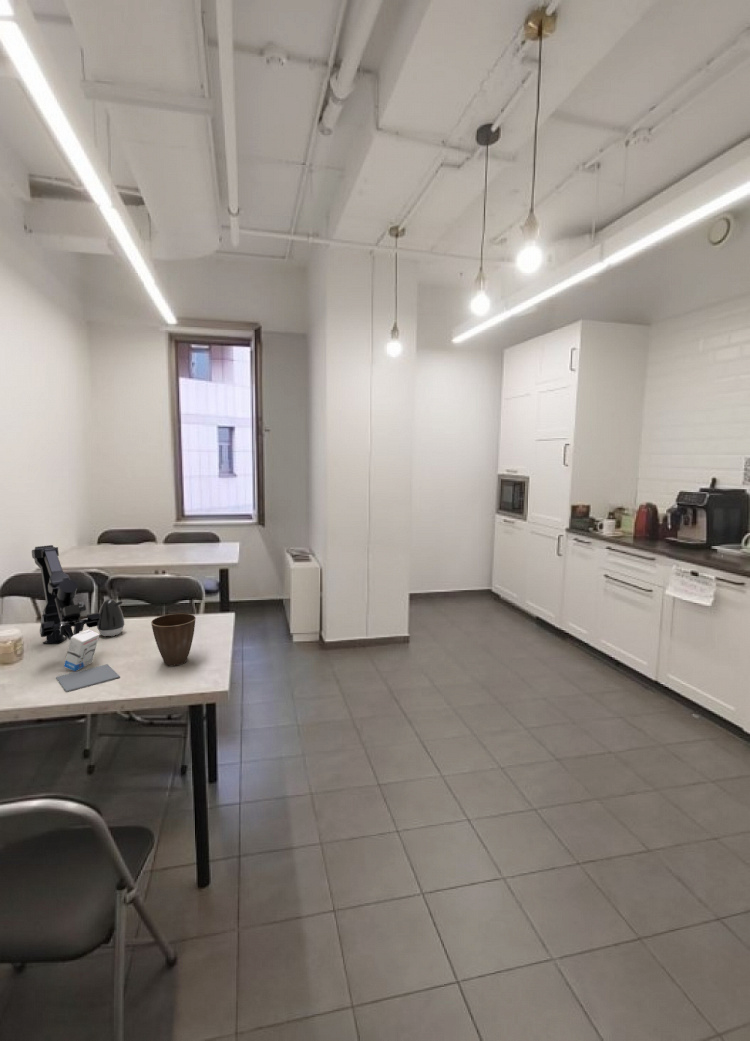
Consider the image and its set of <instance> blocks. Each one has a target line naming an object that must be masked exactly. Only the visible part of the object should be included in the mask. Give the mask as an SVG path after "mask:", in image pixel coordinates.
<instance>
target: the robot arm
mask: <svg viewBox="0 0 750 1041" xmlns="http://www.w3.org/2000/svg"><path fill="white" fill-rule="evenodd" d="M59 556H60V553H59V547H58V546H57V547H55V546H54V545H53V544H50V545H40V546H35V547H34V549H31V557H32V559H34V563H35V565H36V566H38V568H39V569H40V573H41V580H42V586H43V591H44V598H45V606H44V608H43V609H42V614H41V618H40V628H39V636H40V637H41V638H45V637H46V638H45V640H44V641H43V642H42V644H44V645H45V644H47V645H48V644H53V645H54V644H61V643H62V642H64V641H66V640H67V639H68V640H69V641H70V639H71V637H72V636H73V635H76V634H78V633H80V632H83V631H84V627H85V625H86V627H87V628H88V629H89V628H94V627H95V628H96V627H97V626H98V625H99V623H100V620H101V616H100V614H99V612H94V613H93V612H92V613H88V614H87V615H86V618H81V613H82V612H85V611H86V610H87V607H86V602H85V601H80V602H78V603H77V604H76V603H75V600H74V599H75V597H76V593H77V590H78V586H79V585H78V583H77V582H76V581H75V580H73V579H71V578H70V576H69V574H67V573H65V572H64V570H63V568H62V564H61V561H60V559H59ZM80 618H81V619H80ZM72 627H73V630H72Z"/></svg>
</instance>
